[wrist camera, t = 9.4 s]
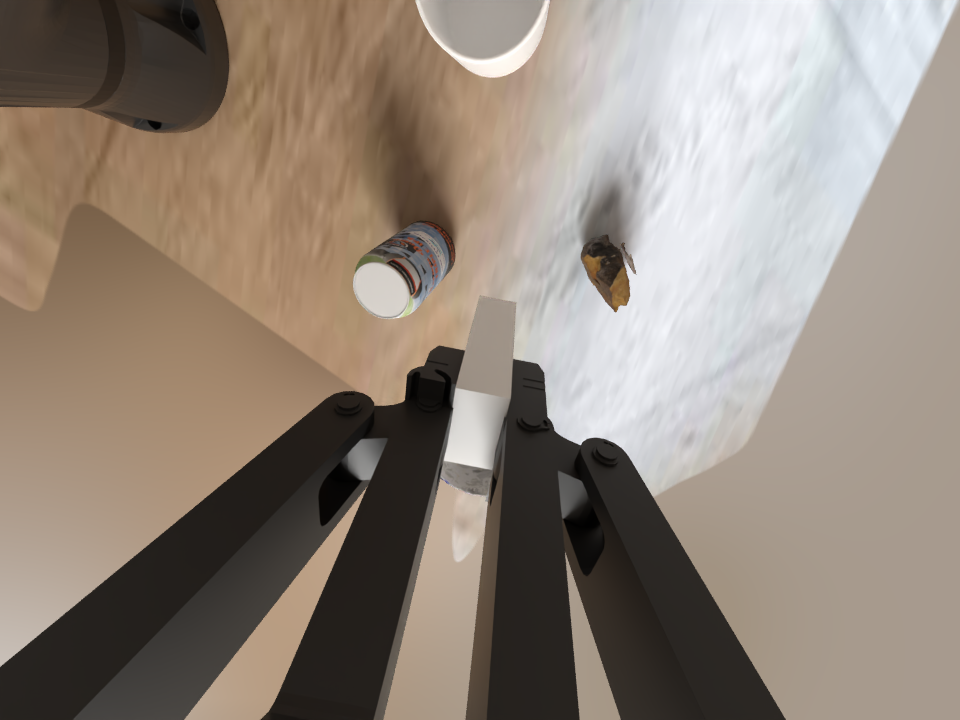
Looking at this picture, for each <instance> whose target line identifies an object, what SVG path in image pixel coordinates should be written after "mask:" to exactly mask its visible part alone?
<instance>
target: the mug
mask: <svg viewBox="0 0 960 720" xmlns="http://www.w3.org/2000/svg"><path fill="white" fill-rule="evenodd" d="M549 3H550V0H416V4H417V7H418V10H419V13H420V16H421V18H422V20H423V22H424V24H425V26H426V28H427V29H428V31H429V33H430V34H431V36H432V37H433V38H434V40H435V41H436V42H437V43H438V44H439V45H440V46H441V47H442V48H443V49H444V50H445V51H446V52H447V53H449V54H450V55H451V56H452V57H453V58H454V59H455V60H457V61H458V62H459V63H460V64H461V65H462V66H464V67H465V68H466V69H467V70H469V71H471V72H473V73H474V74H477V75H480V76H484V77H501V76H505V75H508V74H510V73H512V72H514V71H515V70H517V69H519V68H520V67H521V66H522V65H523V64H525V62H526V61H527V60H528V59H529V58H530V57H531V55H532V54H533V53H534V51H535V49H536V48H537V46H538V44H539V42H540V40H541V37H542V35H543V31H544V28H545V24H546V19H547V14H548V9H549Z"/></svg>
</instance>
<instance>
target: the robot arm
mask: <svg viewBox="0 0 960 720" xmlns="http://www.w3.org/2000/svg"><path fill="white" fill-rule="evenodd" d="M228 72H229V59H228V49H227V42H226V37H225V33H224V29H223V25H222V22H221V19H220V16H219V13H218V10H217V8H216V5H215V3H214V1H213V0H0V107H64V108H83V109H85V110H88V111H91V112H93V113H96V114H99V115H101V116H104V117H106V118H109V119H112V120H114V121H117V122H120V123H122V124H125V125H127V126H130V127H133V128H136V129H139V130H143V131H148V132H155V133H177V132H186V131H191V130H194V129H196V128H198V127H200V126H202V125H204V124H205V123H206V122H208V121H209V120H210V119H211V118H212V117H213V116H214V114H215V113H216V112H217V110H218V108H219V107H220V105H221V103H222V100H223V98H224V95H225V92H226V87H227V82H228ZM515 313H516V303H515V302H510V301H505V300H500V299H495V298H490V297H485V296H480V297H479V301H478V304H477V308H476V312H475V316H474V320H473V323H472V327H471V331H470V335H469V338H468V342H467V346H466V350H465V351H464V350H459V349H454V348H449V347H444V346H438V347H436V348H435V349H433V350H432V351H430V353H429V356H428V358H427V361H426V363H425V365H424V366H421V367H417V368H415V369H413V370H411V371H410V372H409V373H408V374H407V383H406V395H405V401H404V402H402V403H399V404H395V405H388V406H374V402H373V401H372V399H371V398H370V397H369V396H367V395H365V394H363V393H359V392H355V391H345V392H340V393H336V394H333V395H332V396H330V397H328V398H327V399H325V400H324V401H323V402H322V403H320V404H319V405H318V406H317V407H316V408H314V409H313V410H312V411H311V412H309V413H308V414H307V415H306V416H305V417H303V418H302V419H301V420H300V421H299V422H297V423H296V424H295V425H294V426H292V427H291V428H290V429H289V430H288V431H287V432H285V433H284V434H283V435H282V436H280V437H279V438H278V439H277V440H275V441H274V442H273V443H272V444H271V445H270V446H268V447H267V448H266V449H265V450H263V451H262V452H261V453H260V454H258V455H257V456H256V457H255V458H254V459H252V460H251V461H250V462H249V463H247V464H246V465H245V466H244V467H243V468H242V469H240V470H239V471H238V472H237V473H235V474H234V475H233V476H232V477H230V479H228V480H227V481H226V482H224V483H223V484H222V485H221V486H220V487H218V488H217V489H216V490H215V491H213V492H212V493H211V494H210V495H209V496H207V497H206V498H205V499H204V500H203V501H201V502H200V503H199V504H198V505H196V506H195V507H194V508H193V509H192V510H190V511H189V512H188V513H187V514H186V515H184V516H183V517H182V518H181V519H179V520H178V521H177V522H176V523H175V524H173V525H172V526H171V527H170V528H169V529H168V530H166V531H165V532H164V533H162V534H161V535H160V536H159V537H158V538H156V539H155V540H154V541H153V542H151V543H150V544H149V545H148V546H147V547H146V548H144V549H143V550H142V551H141V552H139V553H138V554H137V555H136V556H134V557H133V558H132V559H131V560H130V561H128V562H127V563H126V564H125V565H124V566H122V567H121V568H120V569H119V570H117V571H116V572H115V573H114V574H113V575H111V576H110V577H109V578H108V579H107V580H105V581H104V582H103V583H102V584H100V585H99V586H98V587H97V588H96V589H95V590H93V591H92V592H91V593H90V594H88V595H87V596H86V597H85V598H83V599H82V600H81V601H80V602H79V603H77V604H76V605H75V606H74V607H73V608H71V609H70V610H69V611H68V612H66V613H65V614H64V615H63V616H62V617H60V618H59V619H58V620H57V621H56V622H55V623H53V624H52V625H51V626H49V627H48V628H47V629H46V630H45V631H43V632H42V633H41V634H40V635H39V636H37V637H36V638H35V639H34V640H32V641H31V642H30V643H29V644H28V645H27V646H25V647H24V648H23V649H22V650H21V651H19V652H18V653H17V654H15V655H14V656H13V657H12V658H11V659H9V660H8V661H7V662H6V663H5V664H3V665H2V666H1V667H0V720H184V719H185V718H186V716H187V715H188V714H189V713H190V711H191V710H192V709H193V707H194V706H195V705H196V704H197V702H198V701H199V700H200V698H201V697H202V696H203V695H204V693H205V692H206V691H207V690H208V688H209V687H210V686H211V685H212V683H213V682H214V680H215V679H216V678H217V677H218V676H219V674H220V673H221V672H222V671H223V669H224V668H225V667H226V665H227V664H228V663H229V662H230V660H231V659H232V658H233V656H234V655H235V654H236V653H237V651H238V650H239V649H240V648H241V646H242V645H243V644H244V642H245V641H246V640H247V639H248V637H249V636H250V635H251V634H252V632H253V631H254V630H255V628H256V627H257V626H258V625H259V623H260V622H261V621H262V620H263V618H264V617H265V616H266V615H267V613H268V612H269V611H270V609H271V608H272V607H273V606H274V604H275V603H276V602H277V601H278V599H279V598H280V597H281V595H282V594H283V593H284V591H285V590H286V589H287V588H288V587H289V585H290V584H291V583H292V581H293V580H294V579H295V578H296V576H297V575H298V574H299V573H300V571H301V570H302V569H303V567H304V566H305V565H306V564H307V562H308V561H309V560H310V558H311V557H312V556H313V555H314V553H315V552H316V551H317V550H318V548H319V547H320V545H322V543H323V542H324V541H325V539H326V538H327V537H328V536H329V534H330V533H331V532H332V531H333V529H334V528H335V527H336V525H337V524H338V523H339V522H340V520H341V519H342V518H343V516H344V515H345V514H346V513H347V511H348V510H349V509H350V508H351V506H352V505H353V504H354V502H355V501H356V500H357V499H358V497H359V496H360V495H361V494H362V492H363V491H364V490H365V488H366V487H367V486H368V487H367V489H366V491H365V494H364V496H363V498H362V501H361V503H360V505H359V508H358V510H357V512H356V515H355V517H354V520H353V522H352V524H351V527H350V529H349V531H348V533H347V536H346V538H345V540H344V543H343V545H342V547H341V550H340V552H339V554H338V557H337V559H336V561H335V564H334V566H333V568H332V571H331V573H330V575H329V577H328V580H327V582H326V585H325V587H324V589H323V591H322V594H321V596H320V598H319V601H318V603H317V605H316V608H315V610H314V613H313V615H312V617H311V619H310V622H309V624H308V627H307V629H306V631H305V633H304V636H303V638H302V640H301V643H300V645H299V647H298V650H297V652H296V654H295V657H294V659H293V661H292V664H291V666H290V668H289V671H288V673H287V675H286V677H285V680H284V682H283V684H282V687H281V689H280V692H279V694H278V696H277V698H276V700H275V702H274V704H273V705H272V707H271V709H270V710H269V712H268V713H267V714H266V715H265V716H264V717H263V718H262V719H261V720H383V718H384V714H385V710H386V706H387V701H388V697H389V693H390V689H391V685H392V680H393V676H394V672H395V668H396V664H397V659H398V655H399V651H400V647H401V642H402V638H403V634H404V630H405V625H406V621H407V616H408V613H409V609H410V604H411V600H412V596H413V592H414V587H415V583H416V578H417V575H418V570H419V566H420V562H421V558H422V554H423V549H424V545H425V541H426V537H427V532H428V528H429V524H430V520H431V515H432V511H433V507H434V503H435V498H436V494H437V490H438V486H439V482H440V477H441V473H442V467H443V461H448V462H454V463H459V464H464V465H469V466H474V467H479V468H484V469H489V470H492V469H493V474H492V478H491V482H490V485H489V489H488V493H487V497H486V500H485V501H487V502H488V507H487V517H486V526H485V536H484V547H483V555H482V565H481V576H480V585H479V594H478V595H479V596H478V604H477V614H476V624H475V633H474V643H473V653H472V663H471V672H470V682H469V691H468V701H467V710H466V720H579V708H578V697H577V685H576V673H575V662H574V651H573V640H572V628H571V617H570V605H569V593H568V582H567V571H566V559H565V552H566V555H567V558H568V561H569V564H570V567H571V570H572V573H573V576H574V579H575V582H576V585H577V588H578V591H579V594H580V597H581V600H582V603H583V606H584V609H585V613H586V615H587V619H588V621H589V624H590V628H591V631H592V633H593V637H594V640H595V643H596V646H597V649H598V652H599V654H600V658H601V661H602V664H603V667H604V670H605V673H606V676H607V679H608V682H609V685H610V688H611V691H612V694H613V697H614V700H615V703H616V706H617V709H618V712H619V715H620V718H621V720H786V719H785V718H784V716H783V714H782V712H781V711H780V709H779V707H778V706H777V704H776V702H775V701H774V699H773V697H772V696H771V694H770V692H769V691H768V689H767V687H766V686H765V684H764V683H763V681H762V679H761V677H760V676H759V674H758V673H757V671H756V669H755V667H754V666H753V664H752V662H751V661H750V659H749V657H748V656H747V654H746V652H745V651H744V649H743V647H742V646H741V644H740V642H739V641H738V639H737V637H736V635H735V634H734V632H733V631H732V629H731V627H730V626H729V624H728V622H727V621H726V619H725V617H724V615H723V614H722V612H721V610H720V609H719V607H718V606H717V604H716V602H715V601H714V599H713V597H712V595H711V594H710V592H709V590H708V589H707V587H706V585H705V584H704V582H703V580H702V579H701V577H700V575H699V574H698V572H697V570H696V569H695V567H694V565H693V564H692V562H691V560H690V559H689V557H688V555H687V554H686V552H685V550H684V548H683V547H682V545H681V543H680V542H679V540H678V538H677V537H676V535H675V533H674V532H673V530H672V529H671V527H670V525H669V523H668V522H667V520H666V519H665V517H664V515H663V513H662V512H661V510H660V508H659V507H658V505H657V503H656V502H655V500H654V498H653V497H652V495H651V493H650V492H649V490H648V488H647V487H646V485H645V483H644V482H643V480H642V478H641V477H640V475H639V473H638V471H637V470H636V468H635V466H634V465H633V463H632V461H631V460H630V458H629V456H628V455H627V454H626V453H625V452H624V450H623V449H622V448H620V447H619V446H618V445H616V444H615V443H613V442H610V441H608V440H606V439H601V438H589V439H587V440H585V441H584V442H582V445H578V444H576V443H574V442H571V441H569V440H567V439H565V438H563V437H561V436H560V435H559V434H557V433H556V432H555V431H554V427H553V424H552V422H551V421H550V419H549V418H548V417H547V406H546V392H545V384H544V383H545V378H544V372H543V371H542V369H541V368H540V366H539V365H538V364H536V363H531V362H525V361H520V360H515V359H513V349H514V331H515ZM493 465H494V468H493Z"/></svg>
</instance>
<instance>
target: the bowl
mask: <svg viewBox="0 0 960 720" xmlns="http://www.w3.org/2000/svg"><path fill="white" fill-rule="evenodd" d="M493 468H494V465H493ZM492 474H493V469H492V470H489V469H484V468H479V467H474V466H469V465H464V464H459V463H454V462H448V461H443V467H442V473H441V477H440V478H441V479H442V480H444V481H445V482H446V483H447V484H449V485H450V486H452V487H454V488H456V489H458V490H460V491H462V492H465V493H468V494H471V495H477V496H483V497H487V493H488V489H489V485H490V482H491V478H492Z"/></svg>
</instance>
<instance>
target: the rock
mask: <svg viewBox="0 0 960 720" xmlns="http://www.w3.org/2000/svg"><path fill="white" fill-rule="evenodd" d="M624 244H625V243H622V244H620V245H621V248H622V251H623V253H624V255H625V258H626V259H627V263H628V264H629V266H630V268H631V270H632V271H633V273H634V274H636V271H635V268H634V264H633V259H632V257H631V254H630V255H629V256H628V254H627V253H626V251H625V247H624ZM581 260H582V263H583V264H584V267H585V269H586V271H587V275H588V277H589V279H590V280H591V282H592V283H593V285H595V286H596V288H597V290H598V291H599V293H600V294H601V295H602V297H603V298H604V300H605V302H607V304H608V305H609V306H610V307H611V308H612V309H613V310H614V312H617V310H618V307H619V306H620V305H623V306H626V305H627V303H628V301H629V297H630V291H629V290H630V287H629V279H628V276H627V273H626V272H627V271H626V268H625V265H624V262H623V257H622V253H621V252H620V249H618V248H616V247H615V246H614V245H613V244H612V243H610V241H609V238H608V235H603V236H601V237H599V238H593V239H591V240H590V241H589V242H587V243H586V244H585V245H584V247H583V250H582V252H581ZM636 275H637V274H636Z"/></svg>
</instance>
